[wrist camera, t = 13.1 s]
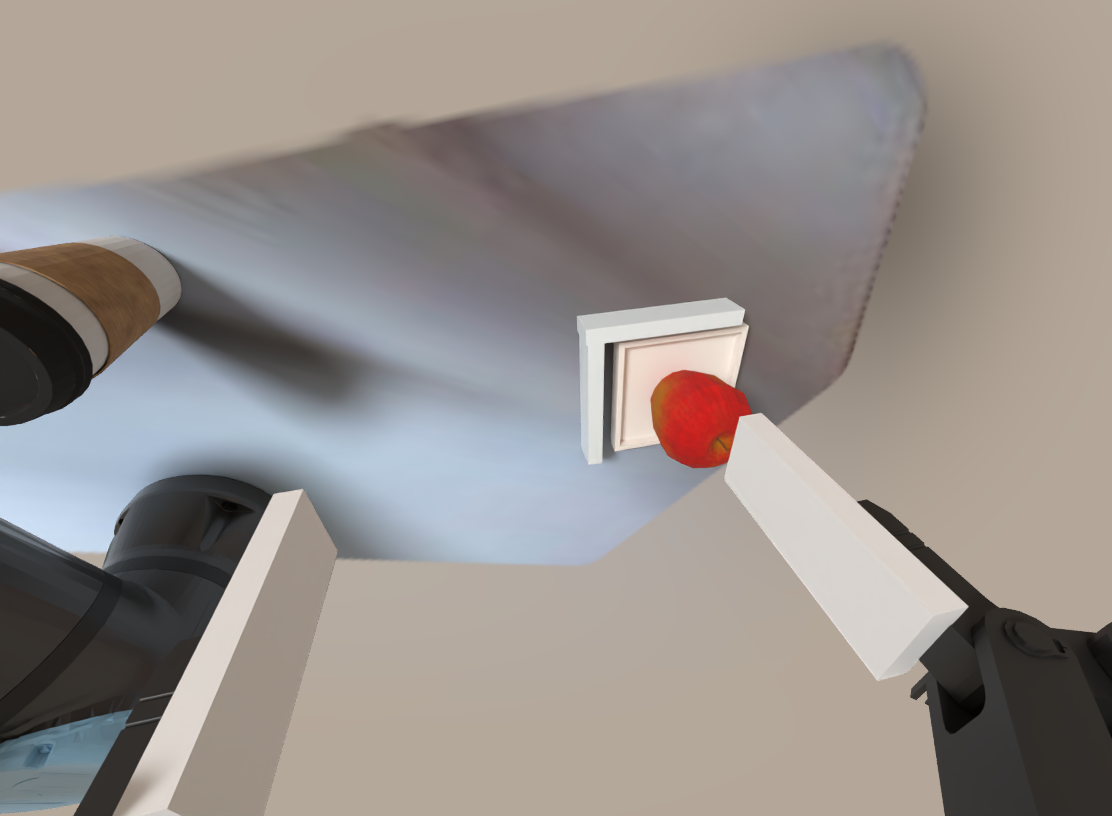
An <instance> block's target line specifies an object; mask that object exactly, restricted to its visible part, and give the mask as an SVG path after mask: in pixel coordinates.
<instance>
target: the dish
mask: <svg viewBox="0 0 1112 816" xmlns="http://www.w3.org/2000/svg"><path fill="white" fill-rule="evenodd" d="M748 328H749V326H748V325H747V324H745V323H744V322H742V325H738V326H730V327H723V328H715V329H708V330H700V331H693V332H686V333H678V334H671V335H663V336H656V337H648V338H641V339H633V340H626V341H618V342H614V349H613V380H612V410H611V440H610V442H611V444H612V446H613V448H614V450H615V451H619V450H625V449H631V448H637V447H643V446H648V445H654V444H660V441H659V439H658V437H657V435H656V433H655V430H654V428H653V422H652V413H651V401H650V399H651V396H652V394H653V391H654V389H655V387H656V386H657V385H658V383H659V382H660V381H661V380H662V379H663V378H665V377H666V376H668V375H669V374H671V373H672V372H677V371H681V370H690V371H697V372H702V373H706V374H711V375H715V376H716V377H718V378H719V379H721V380H722V381H724V382H725V383H727V384H729V385H730V386H732V387H734V388H735V384H736V380H737V376H738V371H739V367H740V363H741V358H742V354H743V350H744V345H745V341H746V337H747V332H748Z"/></svg>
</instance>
